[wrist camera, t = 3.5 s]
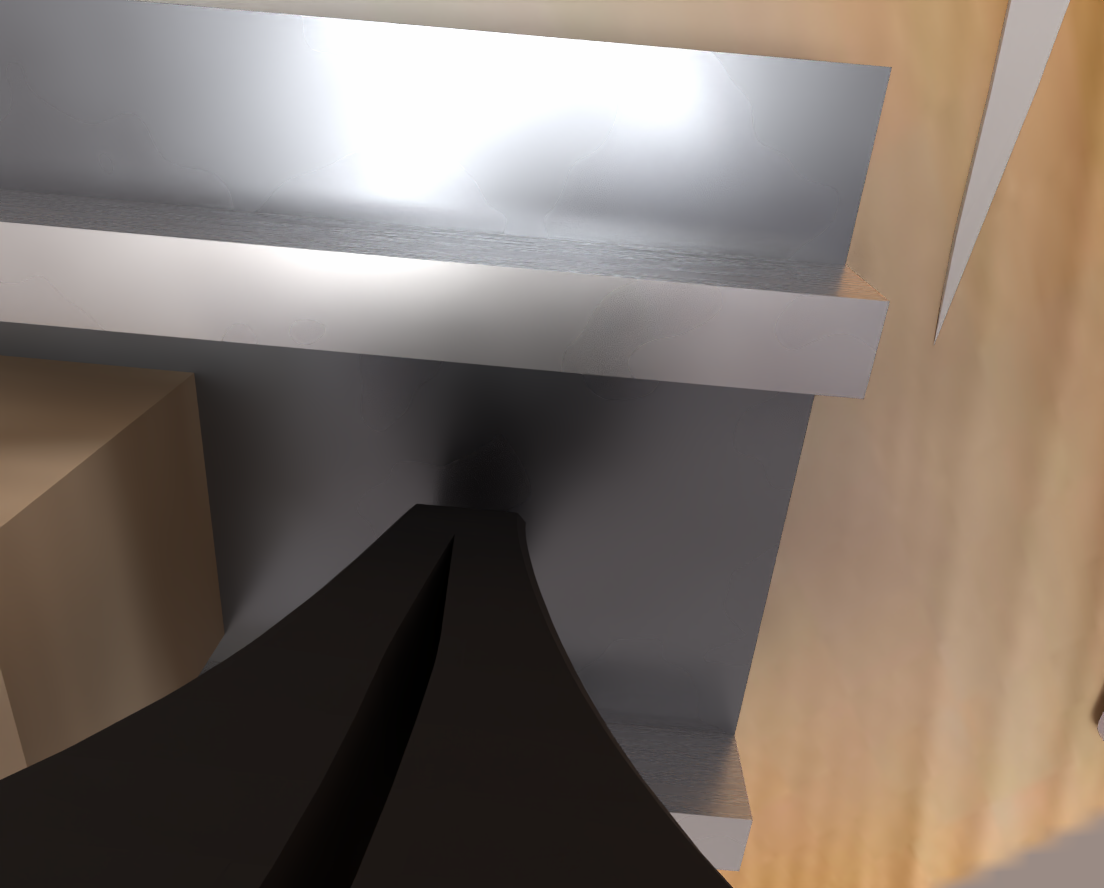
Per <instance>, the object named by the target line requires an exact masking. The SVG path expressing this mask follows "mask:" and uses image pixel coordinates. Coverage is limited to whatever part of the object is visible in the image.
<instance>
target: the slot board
mask: <svg viewBox="0 0 1104 888" xmlns="http://www.w3.org/2000/svg"><path fill="white" fill-rule="evenodd" d="M891 68H892V67H882V66H871V65H860V64H848V63H837V62H826V61H814V60H803V59H792V58H780V57H769V56H758V55H746V54H735V53H724V52H712V51H701V50H690V49H678V48H667V47H656V46H644V45H633V44H622V43H610V42H599V41H588V40H576V39H565V38H554V37H542V36H531V35H520V34H508V33H497V32H486V31H474V30H463V29H452V28H440V27H429V26H417V25H406V24H395V23H383V22H372V21H361V20H349V19H338V18H327V17H315V16H304V15H293V14H281V13H270V12H259V11H247V10H236V9H225V8H213V7H202V6H191V5H179V4H168V3H157V2H145V1H134V0H0V355H2V356H13V357H25V358H36V359H47V360H58V361H69V362H80V363H91V364H102V365H113V366H124V367H135V368H146V369H157V370H168V371H180V372H191V373H194V376H195V385H196V393H197V402H198V410H199V419H200V428H201V436H202V445H203V453H204V462H205V470H206V479H207V488H208V496H209V505H210V513H211V522H212V530H213V539H214V547H215V556H216V565H217V573H218V582H219V590H220V599H221V607H222V616H223V624H224V633H225V635H224V636H223V638H222V639H221V641H220V643H219V644H218V646H217V647H216V649H215V650H214V652H213V654H212V655H211V657H210V658H209V660H208V661H207V663H206V665H205V666H204V668H203V669H202V671H201V673H200V674H199V676H200V675H201V674H203V673H205V672H206V671H208V670H209V669H211V668H213V667H214V666H216V665H218V664H219V663H221V662H222V661H224V660H226V659H227V658H229V657H230V656H232V655H233V654H235V653H236V652H238V651H239V650H241V649H242V648H244V647H245V646H246V645H248V644H249V643H251V642H252V641H254V640H255V639H256V638H258V637H259V636H261V635H262V634H263V633H264V632H266V631H267V630H268V629H270V628H271V627H272V626H274V625H275V624H276V623H278V622H279V621H280V620H282V619H283V618H284V617H285V616H287V615H288V614H289V613H291V612H292V611H293V610H295V609H296V608H297V607H299V606H300V605H301V604H302V603H304V602H305V601H306V600H308V599H309V598H310V597H311V596H313V595H314V594H315V593H316V592H317V591H319V590H320V589H321V588H322V587H323V586H325V585H326V584H327V583H328V582H329V581H330V580H332V579H333V578H334V577H335V576H336V575H337V574H339V573H340V572H341V571H342V570H343V569H344V568H346V567H347V566H348V565H349V564H350V563H351V562H353V561H354V560H355V559H356V558H357V557H358V556H359V555H360V554H361V553H363V552H364V551H365V550H366V549H367V548H368V547H369V546H370V545H371V544H372V543H374V542H375V541H376V540H377V539H378V538H379V537H380V536H381V535H382V534H383V533H384V532H385V531H386V530H387V529H388V528H390V527H391V526H392V525H393V524H394V523H395V522H396V521H397V520H398V519H399V518H400V517H401V516H402V515H403V514H405V513H406V512H407V511H408V510H409V509H410V508H412V507H413V506H414V505H416V504H427V505H438V506H449V507H460V508H471V509H482V510H493V511H504V512H515V513H518V514H519V515H520V516H521V517H522V518H523V519H524V521H525V522H526V528H525V531H526V541H527V547H528V551H529V556H530V559H531V563H532V567H533V570H534V574H535V577H536V580H537V583H538V586H539V589H540V592H541V594H542V597H543V599H544V602H545V604H546V607H547V609H548V612H549V615H550V617H551V620H552V622H553V625H554V627H555V629H556V631H557V634H558V636H559V638H560V640H561V643H562V645H563V647H564V649H565V651H566V653H567V655H568V657H569V659H570V661H571V663H572V665H573V667H574V669H575V671H576V673H577V675H578V677H579V678H580V680H581V682H582V684H583V686H584V688H585V690H586V691H587V693H588V695H589V697H590V698H591V700H592V702H593V704H594V705H595V707H596V709H597V710H598V712H599V713H600V715H601V717H602V718H603V720H604V721H605V723H606V725H607V726H608V728H609V729H610V731H611V733H612V734H613V736H614V737H615V739H616V740H617V742H618V743H619V745H620V746H621V748H622V749H623V751H624V752H625V754H626V755H627V756H628V758H629V759H630V761H631V762H632V764H633V765H634V767H635V768H636V770H637V771H638V773H639V774H640V775H641V777H642V778H643V780H644V781H645V782H646V783H647V785H648V786H649V787H650V788H651V790H652V791H653V792H654V793H655V795H656V796H657V797H658V798H659V800H660V801H661V802H662V804H663V805H664V806H665V807H666V809H667V810H668V811H669V812H670V814H671V815H672V816H673V817H674V819H675V820H676V821H677V822H678V824H679V825H680V826H681V828H682V829H683V830H684V831H685V833H686V834H687V835H688V836H689V838H690V839H691V840H692V841H693V843H694V844H695V845H696V846H697V848H698V849H699V850H700V852H701V853H702V854H703V855H704V856H705V857H706V858H707V860H708V861H709V862H710V863H711V864H712V865H713V866H714V867H715V868H716V869H720V870H730V871H739V870H740V866H741V862H742V858H743V855H744V851H745V847H746V843H747V839H748V836H749V832H750V828H751V824H752V815H751V810H750V805H749V801H748V796H747V791H746V786H745V782H744V777H743V772H742V768H741V763H740V758H739V753H738V749H737V744H736V739H735V730H736V726H737V722H738V718H739V713H740V709H741V705H742V701H743V696H744V692H745V688H746V684H747V679H748V675H749V671H750V667H751V662H752V658H753V654H754V650H755V645H756V641H757V637H758V633H759V628H760V624H761V620H762V616H763V611H764V607H765V603H766V599H767V595H768V590H769V586H770V582H771V578H772V573H773V569H774V565H775V561H776V556H777V552H778V548H779V544H780V539H781V535H782V531H783V527H784V522H785V518H786V514H787V510H788V505H789V501H790V497H791V493H792V488H793V484H794V480H795V476H796V471H797V467H798V463H799V459H800V454H801V450H802V446H803V442H804V437H805V433H806V429H807V425H808V420H809V416H810V412H811V408H812V403H813V399H814V395H824V396H836V397H847V398H858V399H864V397H865V393H866V389H867V385H868V382H869V378H870V374H871V370H872V367H873V363H874V359H875V355H876V351H877V348H878V344H879V340H880V336H881V333H882V329H883V325H884V321H885V317H886V314H887V310H888V306H889V302H890V301H889V300H887V299H886V298H885V297H884V296H882V295H881V294H880V293H879V292H878V291H876V290H875V289H874V288H873V287H871V286H870V285H869V284H868V283H867V282H865V281H864V280H863V279H862V278H861V277H859V276H858V275H857V274H856V273H854V272H853V271H852V270H851V269H850V268H848V267H847V266H846V265H845V263H846V259H847V255H848V251H849V246H850V242H851V238H852V234H853V229H854V225H855V221H856V217H857V212H858V208H859V204H860V200H861V195H862V191H863V187H864V183H865V178H866V174H867V170H868V166H869V162H870V157H871V153H872V149H873V145H874V140H875V136H876V132H877V128H878V123H879V119H880V115H881V111H882V106H883V102H884V98H885V94H886V89H887V85H888V81H889V77H890V72H891Z"/></svg>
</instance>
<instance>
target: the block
mask: <svg viewBox="0 0 1104 888" xmlns="http://www.w3.org/2000/svg"><path fill="white" fill-rule="evenodd" d="M224 635H225V633H224V624H223V616H222V607H221V599H220V590H219V582H218V573H217V565H216V556H215V547H214V539H213V530H212V522H211V513H210V505H209V496H208V488H207V479H206V470H205V462H204V453H203V445H202V436H201V428H200V419H199V410H198V402H197V393H196V385H195V376H194V373H191V372H180V371H168V370H157V369H146V368H135V367H124V366H113V365H102V364H91V363H80V362H69V361H58V360H47V359H36V358H25V357H13V356H2V355H0V780H1V779H3V778H5V777H7V776H10V775H12V774H14V773H16V772H18V771H20V770H22V769H25V768H27V767H29V766H31V765H33V764H35V763H37V762H40V761H42V760H44V759H46V758H48V757H50V756H52V755H55V754H57V753H59V752H61V751H63V750H65V749H67V748H69V747H71V746H73V745H75V744H77V743H78V742H80V741H82V740H84V739H86V738H88V737H90V736H92V735H94V734H95V733H97V732H99V731H101V730H103V729H105V728H107V727H109V726H110V725H112V724H114V723H116V722H118V721H120V720H122V719H124V718H126V717H127V716H129V715H131V714H133V713H135V712H137V711H139V710H141V709H142V708H144V707H146V706H148V705H150V704H152V703H154V702H156V701H158V700H159V699H161V698H163V697H165V696H167V695H168V694H170V693H172V692H173V691H175V690H177V689H179V688H180V687H182V686H184V685H185V684H187V683H189V682H190V681H192V680H193V679H195V678H197V677H198V676H199V674H200V673H201V671H202V669H203V668H204V666H205V665H206V663H207V661H208V660H209V658H210V657H211V655H212V654H213V652H214V650H215V649H216V647H217V646H218V644H219V643H220V641H221V639H222V638H223V636H224Z"/></svg>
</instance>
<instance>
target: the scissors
mask: <svg viewBox="0 0 1104 888" xmlns="http://www.w3.org/2000/svg"><path fill="white" fill-rule="evenodd" d="M1069 2H1070V0H1009V1H1008V5H1007V10H1006V14H1005V19H1004V23H1003V28H1002V32H1001V37H1000V41H999V46H998V51H997V55H996V60H995V64H994V69H993V73H992V78H991V82H990V87H989V91H988V95H987V100H986V104H985V108H984V112H983V116H982V120H981V124H980V128H979V132H978V137H977V141H976V145H975V149H974V153H973V157H972V161H971V165H970V169H969V174H968V178H967V182H966V186H965V190H964V194H963V198H962V202H961V206H960V211H959V215H958V219H957V223H956V227H955V231H954V236H953V241H952V246H951V251H950V257H949V262H948V267H947V272H946V277H945V282H944V288H943V294H942V299H941V305H940V311H939V317H938V323H937V329H936V335H935V341H934V344H935V342H936V339H937V337H938V334H939V332H940V329H941V327H942V324H943V322H944V319H945V317H946V314H947V312H948V309H949V307H950V304H951V302H952V299H953V297H954V294H955V292H956V289H957V287H958V284H959V282H960V279H961V277H962V274H963V272H964V269H965V267H966V264H967V262H968V259H969V257H970V254H971V252H972V249H973V247H974V244H975V242H976V239H977V237H978V234H979V232H980V230H981V227H982V225H983V222H984V220H985V217H986V215H987V212H988V210H989V207H990V205H991V202H992V200H993V197H994V195H995V192H996V190H997V187H998V185H999V182H1000V180H1001V177H1002V175H1003V172H1004V170H1005V167H1006V165H1007V162H1008V160H1009V157H1010V155H1011V152H1012V150H1013V147H1014V145H1015V142H1016V140H1017V137H1018V135H1019V132H1020V130H1021V127H1022V125H1023V123H1024V120H1025V118H1026V115H1027V113H1028V110H1029V108H1030V105H1031V103H1032V100H1033V98H1034V95H1035V93H1036V90H1037V88H1038V85H1039V82H1040V80H1041V77H1042V74H1043V72H1044V69H1045V66H1046V63H1047V61H1048V58H1049V55H1050V53H1051V50H1052V47H1053V45H1054V42H1055V39H1056V37H1057V34H1058V31H1059V28H1060V26H1061V23H1062V20H1063V18H1064V15H1065V12H1066V10H1067V7H1068V4H1069Z"/></svg>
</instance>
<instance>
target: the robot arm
mask: <svg viewBox="0 0 1104 888" xmlns="http://www.w3.org/2000/svg"><path fill="white" fill-rule="evenodd" d="M525 528H526V522H525V521H524V519H523V518H522V517H521V516H520V515H519V514H518V513H515V512H504V511H493V510H482V509H471V508H460V507H449V506H438V505H427V504H416V505H414V506H413V507H412V508H410V509H409V510H408V511H407V512H406V513H405V514H403V515H402V516H401V517H400V518H399V519H398V520H397V521H396V522H395V523H394V524H393V525H392V526H391V527H390V528H388V529H387V530H386V531H385V532H384V533H383V534H382V535H381V536H380V537H379V538H378V539H377V540H376V541H375V542H374V543H372V544H371V545H370V546H369V547H368V548H367V549H366V550H365V551H364V552H363V553H361V554H360V555H359V556H358V557H357V558H356V559H355V560H354V561H353V562H351V563H350V564H349V565H348V566H347V567H346V568H344V569H343V570H342V571H341V572H340V573H339V574H337V575H336V576H335V577H334V578H333V579H332V580H330V581H329V582H328V583H327V584H326V585H325V586H323V587H322V588H321V589H320V590H319V591H317V592H316V593H315V594H314V595H313V596H311V597H310V598H309V599H308V600H306V601H305V602H304V603H302V604H301V605H300V606H299V607H297V608H296V609H295V610H293V611H292V612H291V613H289V614H288V615H287V616H285V617H284V618H283V619H282V620H280V621H279V622H278V623H276V624H275V625H274V626H272V627H271V628H270V629H268V630H267V631H266V632H264V633H263V634H262V635H261V636H259V637H258V638H256V639H255V640H254V641H252V642H251V643H249V644H248V645H246V646H245V647H244V648H242V649H241V650H239V651H238V652H236V653H235V654H233V655H232V656H230V657H229V658H227V659H226V660H224V661H222V662H221V663H219V664H218V665H216V666H214V667H213V668H211V669H209V670H208V671H206V672H205V673H203V674H201V675H200V676H198V677H197V678H195V679H193V680H192V681H190V682H189V683H187V684H185V685H184V686H182V687H180V688H179V689H177V690H175V691H173V692H172V693H170V694H168V695H167V696H165V697H163V698H161V699H159V700H158V701H156V702H154V703H152V704H150V705H148V706H146V707H144V708H142V709H141V710H139V711H137V712H135V713H133V714H131V715H129V716H127V717H126V718H124V719H122V720H120V721H118V722H116V723H114V724H112V725H110V726H109V727H107V728H105V729H103V730H101V731H99V732H97V733H95V734H94V735H92V736H90V737H88V738H86V739H84V740H82V741H80V742H78V743H77V744H75V745H73V746H71V747H69V748H67V749H65V750H63V751H61V752H59V753H57V754H55V755H52V756H50V757H48V758H46V759H44V760H42V761H40V762H37V763H35V764H33V765H31V766H29V767H27V768H25V769H22V770H20V771H18V772H16V773H14V774H12V775H10V776H7V777H5V778H3V779H1V780H0V888H733V887H732V886H731V885H730V884H729V883H728V882H727V881H726V880H725V878H724V877H723V876H722V875H721V874H720V873H719V872H718V871H717V870H716V868H715V867H714V866H713V865H712V864H711V863H710V862H709V861H708V860H707V858H706V857H705V856H704V855H703V854H702V853H701V852H700V850H699V849H698V848H697V846H696V845H695V844H694V843H693V841H692V840H691V839H690V838H689V836H688V835H687V834H686V833H685V831H684V830H683V829H682V828H681V826H680V825H679V824H678V822H677V821H676V820H675V819H674V817H673V816H672V815H671V814H670V812H669V811H668V810H667V809H666V807H665V806H664V805H663V804H662V802H661V801H660V800H659V798H658V797H657V796H656V795H655V793H654V792H653V791H652V790H651V788H650V787H649V786H648V785H647V783H646V782H645V781H644V780H643V778H642V777H641V775H640V774H639V773H638V771H637V770H636V768H635V767H634V765H633V764H632V762H631V761H630V759H629V758H628V756H627V755H626V754H625V752H624V751H623V749H622V748H621V746H620V745H619V743H618V742H617V740H616V739H615V737H614V736H613V734H612V733H611V731H610V729H609V728H608V726H607V725H606V723H605V721H604V720H603V718H602V717H601V715H600V713H599V712H598V710H597V709H596V707H595V705H594V704H593V702H592V700H591V698H590V697H589V695H588V693H587V691H586V690H585V688H584V686H583V684H582V682H581V680H580V678H579V677H578V675H577V673H576V671H575V669H574V667H573V665H572V663H571V661H570V659H569V657H568V655H567V653H566V651H565V649H564V647H563V645H562V643H561V640H560V638H559V636H558V634H557V631H556V629H555V627H554V625H553V622H552V620H551V617H550V615H549V612H548V609H547V607H546V604H545V602H544V599H543V597H542V594H541V592H540V589H539V586H538V583H537V580H536V577H535V574H534V570H533V567H532V563H531V559H530V556H529V551H528V547H527V541H526V531H525ZM1097 729H1098V732H1099V735H1100V737H1101V738H1102V739H1103V741H1104V712H1103V714H1102V716H1101V718H1100V720H1099V723H1098V728H1097Z"/></svg>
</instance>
